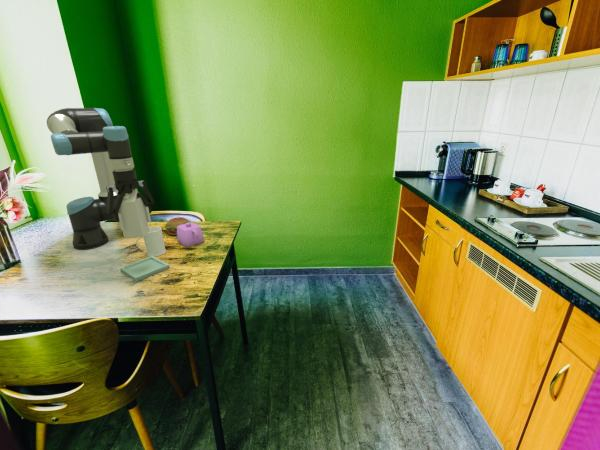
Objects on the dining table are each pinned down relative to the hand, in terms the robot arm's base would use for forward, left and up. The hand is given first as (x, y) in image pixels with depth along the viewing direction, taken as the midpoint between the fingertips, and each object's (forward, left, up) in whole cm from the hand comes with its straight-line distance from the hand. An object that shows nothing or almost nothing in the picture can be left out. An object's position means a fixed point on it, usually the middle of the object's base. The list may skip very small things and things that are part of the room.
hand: (135, 225), depth 122 cm
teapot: (-11, +29, -21) cm, 37 cm away
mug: (-13, +10, -20) cm, 26 cm away
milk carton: (-1, 0, -4) cm, 5 cm away
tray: (0, 0, -20) cm, 20 cm away
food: (-28, +33, -21) cm, 48 cm away
